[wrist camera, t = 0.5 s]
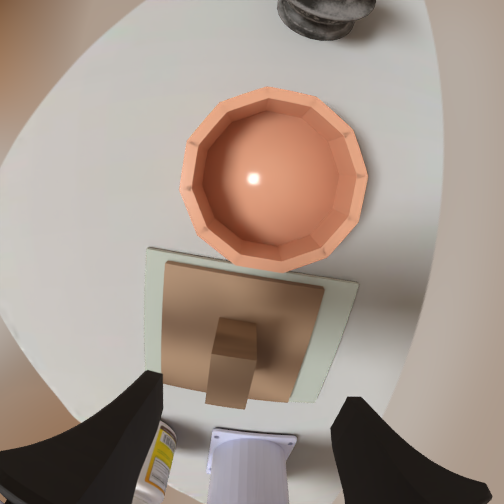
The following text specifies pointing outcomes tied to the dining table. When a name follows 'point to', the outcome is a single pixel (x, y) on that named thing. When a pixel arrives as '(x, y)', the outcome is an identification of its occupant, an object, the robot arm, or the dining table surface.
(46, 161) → the dining table surface
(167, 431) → the supplement bottle
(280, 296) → the walnut lid
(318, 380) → the sage rubber mat
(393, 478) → the robot arm
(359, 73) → the dining table surface
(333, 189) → the terracotta bowl
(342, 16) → the salt shaker
